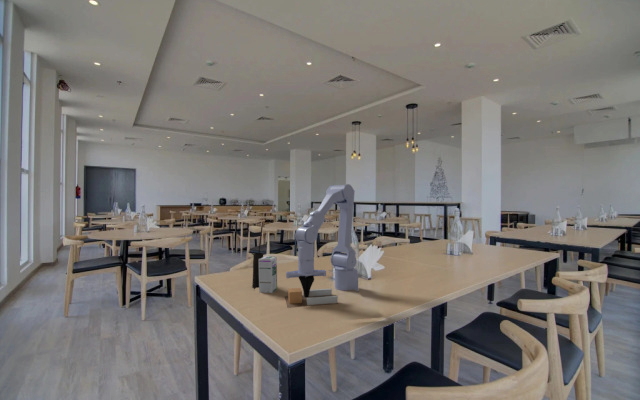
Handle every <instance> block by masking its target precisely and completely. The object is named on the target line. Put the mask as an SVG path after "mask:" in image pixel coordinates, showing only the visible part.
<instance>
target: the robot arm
mask: <svg viewBox="0 0 640 400" xmlns="http://www.w3.org/2000/svg"><path fill="white" fill-rule="evenodd" d="M325 194H326V195H325V196H324V198H323V200H322V201H321V203H320V205H319V207H318V208H317V209H316V210H313V211H311V212H310V213H309V216H308V218H307V219H306V221H304V223H303V225H302V226H299V227H298V228H297V229H296V231H295V234H294V238H295V240H296V245H297V247H298V248H297V252H298V253H297V254H298V255H297V256H298V257H297V259H298V265H297V266H298V267H297V270H293V271H285V277H286V279H292V278H298V279H299V282H300V284H301V287H302V288H301V289H302V292H303V291H304V297H309V292H310V290H311V288H312V286H313V284H314V282H315V277H326V276H327V270H326V269H315V250H314V249H315V246H314V245H315V243H314V242H316V241H317V239H318V234H319V229H320V228H321V227H322V225H323V224H324V222H325V221H326V218H325V216H326V215H327V213H328V212H329V211H330V209H331V208H332V207H333V205H334V204H335V205H337V206H338V207H339V208H340V209H339V210H340V211H339V221H338V236H337V245H336V246H335V247H333V248H332V253H331V255H330V263H331V265H332V266H333V269H334V289H335V290H336V291H337V290H338V291H344V292H345V291H351V290H355V291H356V292H357V293H358V292H360V290H359V273H358V269H357V268H355V267H356V265H357V256H356V250H355V249H354V248H353V247H352V246H351V243H352V242H351V241H352V230H353V215H354V214H353V213H354V203H355V190H354V188H353V186H352V185H351V184H348V183H346V184H331V185H329V187H328V188H327V189H326V191H325Z"/></svg>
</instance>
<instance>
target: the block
mask: <svg viewBox="0 0 640 400" xmlns="http://www.w3.org/2000/svg"><path fill="white" fill-rule="evenodd" d="M287 291H288V293H287V294H288V295H287V296H288V300H289V304H291V303H302V295H303V289H302V288H301V287H295V288H291V287H290V288H288V290H287Z"/></svg>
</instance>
